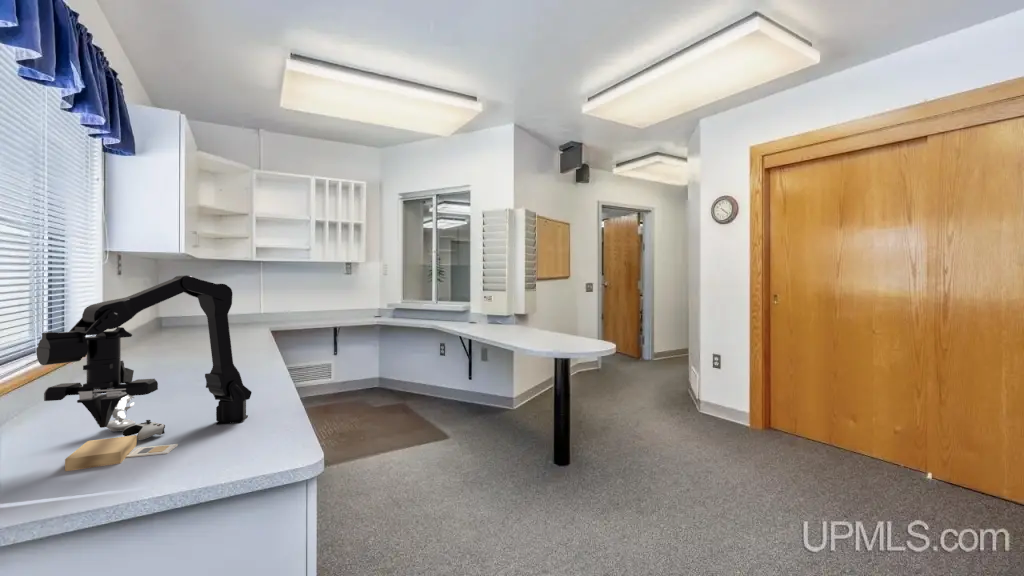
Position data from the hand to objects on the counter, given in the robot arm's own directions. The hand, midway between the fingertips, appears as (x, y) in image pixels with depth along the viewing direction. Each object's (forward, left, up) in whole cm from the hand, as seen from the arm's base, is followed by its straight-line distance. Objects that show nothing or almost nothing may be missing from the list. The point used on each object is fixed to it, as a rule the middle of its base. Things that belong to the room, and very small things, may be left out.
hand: (103, 427), depth 101 cm
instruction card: (-9, -1, -7) cm, 11 cm away
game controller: (-1, -12, -7) cm, 14 cm away
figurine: (+7, -22, -7) cm, 24 cm away
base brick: (0, 0, -7) cm, 7 cm away
